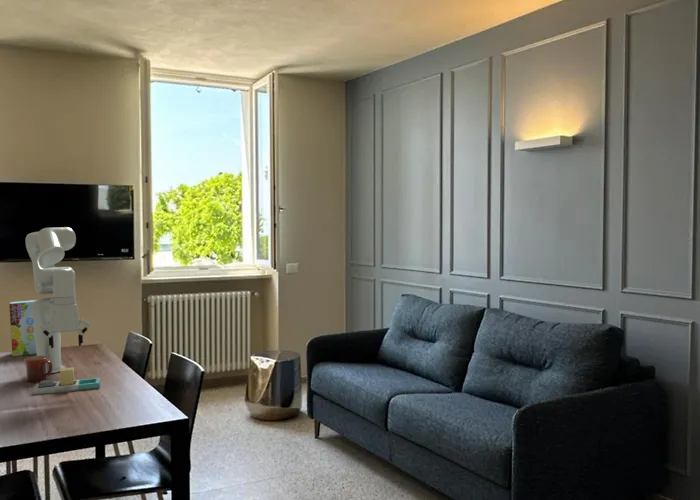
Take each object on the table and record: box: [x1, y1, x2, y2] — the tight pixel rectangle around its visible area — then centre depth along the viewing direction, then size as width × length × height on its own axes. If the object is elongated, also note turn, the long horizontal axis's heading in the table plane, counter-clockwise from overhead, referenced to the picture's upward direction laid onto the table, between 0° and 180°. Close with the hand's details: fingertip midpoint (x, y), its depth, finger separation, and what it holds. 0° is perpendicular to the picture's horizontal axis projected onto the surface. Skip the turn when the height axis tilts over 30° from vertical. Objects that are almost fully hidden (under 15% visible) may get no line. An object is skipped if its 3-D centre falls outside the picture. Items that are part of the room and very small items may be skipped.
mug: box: [23, 355, 53, 384], centre depth 262 cm, size 12×9×10 cm
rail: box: [32, 377, 101, 396], centre depth 250 cm, size 23×8×3 cm, turn 109°
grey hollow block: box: [39, 379, 55, 388], centre depth 247 cm, size 4×4×4 cm
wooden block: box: [59, 366, 75, 386], centre depth 250 cm, size 4×4×8 cm
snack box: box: [8, 299, 62, 357], centre depth 321 cm, size 22×9×26 cm, turn 114°
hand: (66, 346), depth 249 cm, fingers open, 9 cm apart
